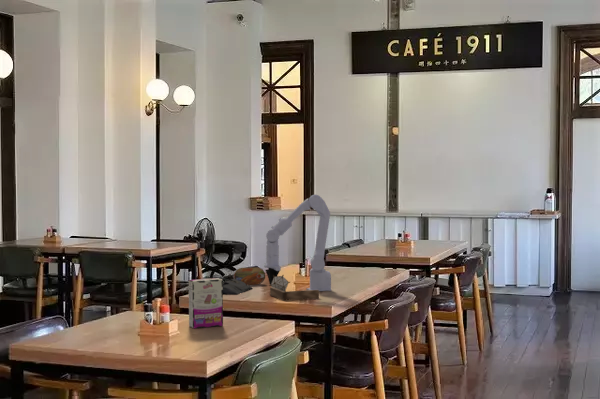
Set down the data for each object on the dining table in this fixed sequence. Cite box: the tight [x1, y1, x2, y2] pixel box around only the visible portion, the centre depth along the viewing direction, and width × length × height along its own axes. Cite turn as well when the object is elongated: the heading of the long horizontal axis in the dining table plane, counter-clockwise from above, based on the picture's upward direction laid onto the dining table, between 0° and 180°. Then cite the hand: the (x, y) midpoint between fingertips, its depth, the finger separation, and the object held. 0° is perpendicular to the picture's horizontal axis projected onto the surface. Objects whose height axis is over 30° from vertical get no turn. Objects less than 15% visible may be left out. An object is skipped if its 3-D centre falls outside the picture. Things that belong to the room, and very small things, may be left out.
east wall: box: [269, 286, 288, 301], centre depth 334 cm, size 2×15×4 cm, turn 25°
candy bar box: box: [188, 277, 224, 329], centre depth 269 cm, size 11×5×16 cm, turn 118°
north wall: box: [282, 289, 320, 301], centre depth 331 cm, size 16×2×4 cm, turn 115°
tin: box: [233, 266, 266, 286], centre depth 375 cm, size 15×3×8 cm, turn 102°
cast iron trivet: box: [223, 278, 254, 296], centre depth 353 cm, size 15×22×5 cm
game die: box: [268, 274, 291, 292], centre depth 349 cm, size 9×8×10 cm
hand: (272, 284), depth 357 cm, fingers closed
